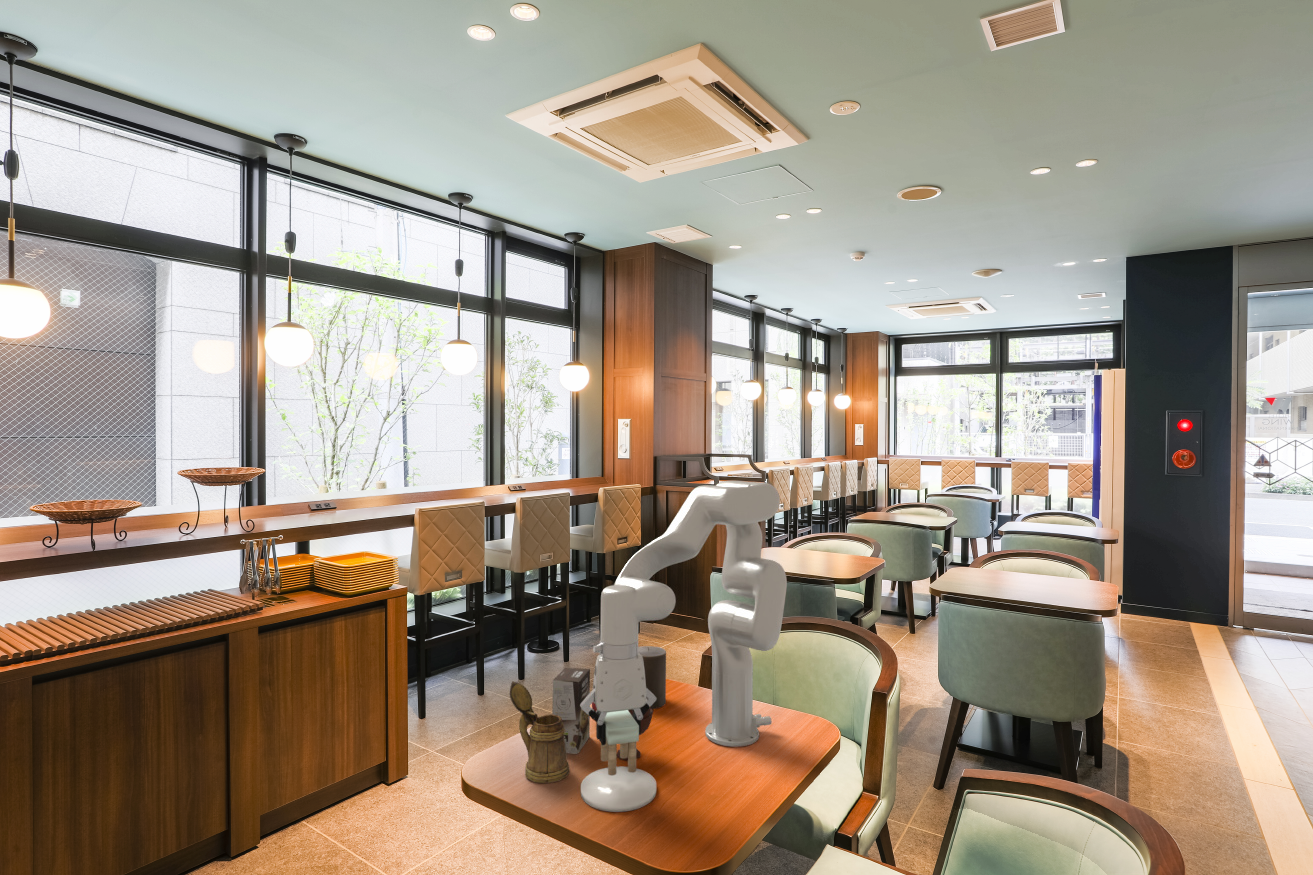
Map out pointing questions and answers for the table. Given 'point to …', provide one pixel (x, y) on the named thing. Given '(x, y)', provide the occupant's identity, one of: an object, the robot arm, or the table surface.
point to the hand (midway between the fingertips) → (618, 739)
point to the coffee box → (572, 706)
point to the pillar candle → (655, 672)
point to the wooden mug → (540, 739)
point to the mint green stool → (620, 739)
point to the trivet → (618, 789)
